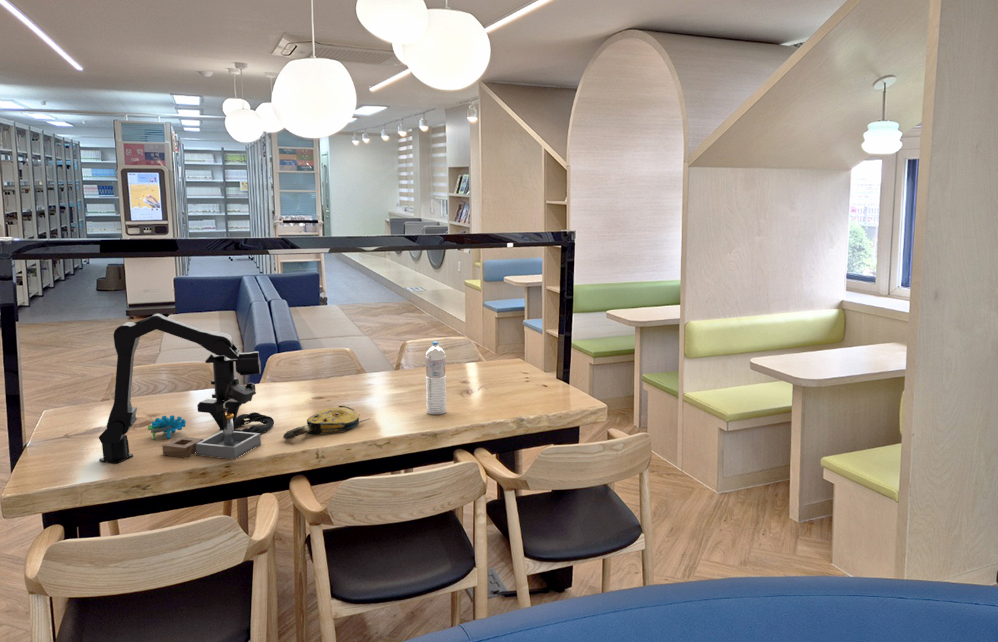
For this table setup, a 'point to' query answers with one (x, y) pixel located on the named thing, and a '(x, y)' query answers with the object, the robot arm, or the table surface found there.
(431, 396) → the water bottle
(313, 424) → the pulley block
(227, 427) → the pin
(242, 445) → the tray
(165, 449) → the block
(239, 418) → the cable
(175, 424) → the gear
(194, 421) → the table surface
